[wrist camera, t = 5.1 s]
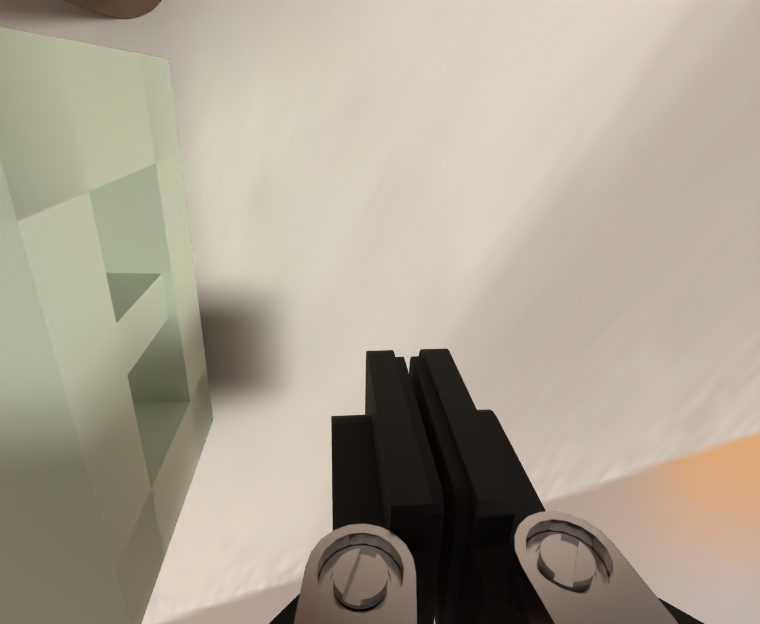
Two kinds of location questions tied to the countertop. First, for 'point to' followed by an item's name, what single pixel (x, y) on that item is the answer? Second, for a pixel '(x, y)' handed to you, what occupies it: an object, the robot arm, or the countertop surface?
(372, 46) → the countertop surface
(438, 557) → the robot arm
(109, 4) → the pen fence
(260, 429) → the countertop surface
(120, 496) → the pale green flat block
